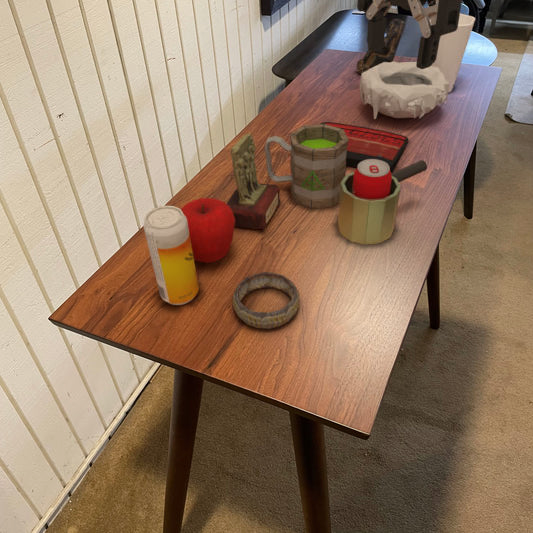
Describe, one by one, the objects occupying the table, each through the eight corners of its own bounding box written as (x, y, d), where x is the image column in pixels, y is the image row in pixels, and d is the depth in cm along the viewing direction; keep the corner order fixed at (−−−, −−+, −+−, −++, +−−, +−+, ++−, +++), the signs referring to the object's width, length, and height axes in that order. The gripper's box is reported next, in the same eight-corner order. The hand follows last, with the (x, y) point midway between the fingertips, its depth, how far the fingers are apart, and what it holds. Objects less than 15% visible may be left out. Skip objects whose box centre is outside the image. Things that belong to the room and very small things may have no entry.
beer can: (207, 291, 81) (195, 214, 71) (178, 313, 78) (161, 235, 68) (181, 275, 84) (166, 198, 74) (152, 295, 81) (132, 218, 71)
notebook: (393, 165, 103) (296, 147, 110) (391, 175, 104) (295, 157, 111) (411, 133, 114) (322, 118, 121) (409, 143, 115) (321, 128, 122)
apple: (229, 232, 92) (223, 180, 85) (245, 265, 85) (241, 211, 78) (175, 246, 90) (164, 194, 83) (188, 280, 83) (178, 227, 76)
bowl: (368, 91, 136) (372, 52, 129) (448, 100, 130) (456, 60, 123) (348, 125, 121) (351, 84, 115) (437, 138, 115) (445, 95, 109)
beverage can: (380, 214, 94) (389, 156, 86) (388, 235, 89) (397, 176, 81) (346, 216, 94) (351, 158, 86) (352, 237, 89) (357, 178, 81)
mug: (348, 181, 103) (353, 126, 95) (339, 212, 95) (344, 155, 87) (273, 173, 107) (271, 119, 99) (259, 202, 99) (255, 145, 91)
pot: (397, 191, 100) (403, 149, 94) (435, 214, 94) (445, 171, 88) (327, 224, 93) (329, 181, 87) (364, 251, 87) (369, 207, 81)
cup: (454, 98, 130) (470, 28, 119) (414, 93, 134) (426, 23, 122) (462, 82, 138) (477, 14, 126) (424, 77, 141) (435, 10, 130)
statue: (358, 68, 147) (363, 12, 137) (400, 73, 144) (407, 16, 134) (353, 76, 144) (357, 19, 134) (395, 81, 140) (403, 23, 130)
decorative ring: (223, 324, 76) (289, 338, 73) (221, 309, 73) (289, 323, 71) (246, 279, 83) (306, 290, 80) (245, 264, 81) (306, 275, 78)
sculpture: (265, 233, 91) (262, 159, 81) (223, 226, 93) (215, 153, 84) (281, 203, 98) (279, 131, 88) (241, 197, 100) (236, 126, 90)
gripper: (497, -94, 52) (462, 66, 63) (395, -105, 61) (380, 37, 72) (447, -85, 49) (420, 82, 60) (348, -98, 58) (339, 49, 69)
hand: (398, 57), depth 66 cm, fingers open, 8 cm apart
